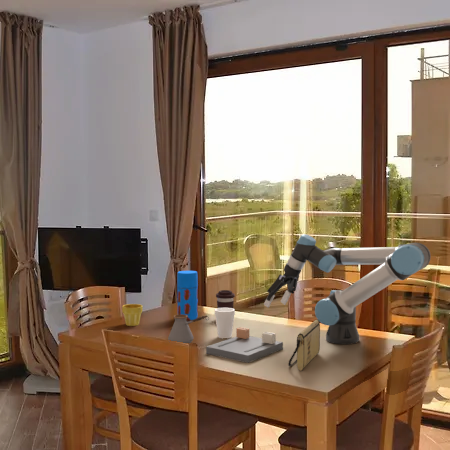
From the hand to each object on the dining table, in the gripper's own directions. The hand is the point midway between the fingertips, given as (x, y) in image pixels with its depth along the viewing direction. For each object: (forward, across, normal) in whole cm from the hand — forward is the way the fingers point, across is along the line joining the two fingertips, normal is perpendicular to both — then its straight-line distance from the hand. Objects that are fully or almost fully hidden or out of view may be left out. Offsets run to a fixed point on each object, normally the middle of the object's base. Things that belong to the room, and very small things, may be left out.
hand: (274, 304), depth 286 cm
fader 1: (+14, +17, +2) cm, 23 cm away
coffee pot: (+27, +34, -11) cm, 44 cm away
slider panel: (+14, +25, +10) cm, 31 cm away
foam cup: (+24, +12, -10) cm, 28 cm away
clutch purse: (+1, +22, +35) cm, 42 cm away
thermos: (+42, -6, -46) cm, 63 cm away
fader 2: (+8, +17, +15) cm, 24 cm away
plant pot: (+50, +22, -56) cm, 78 cm away
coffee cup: (+34, -18, -31) cm, 49 cm away
